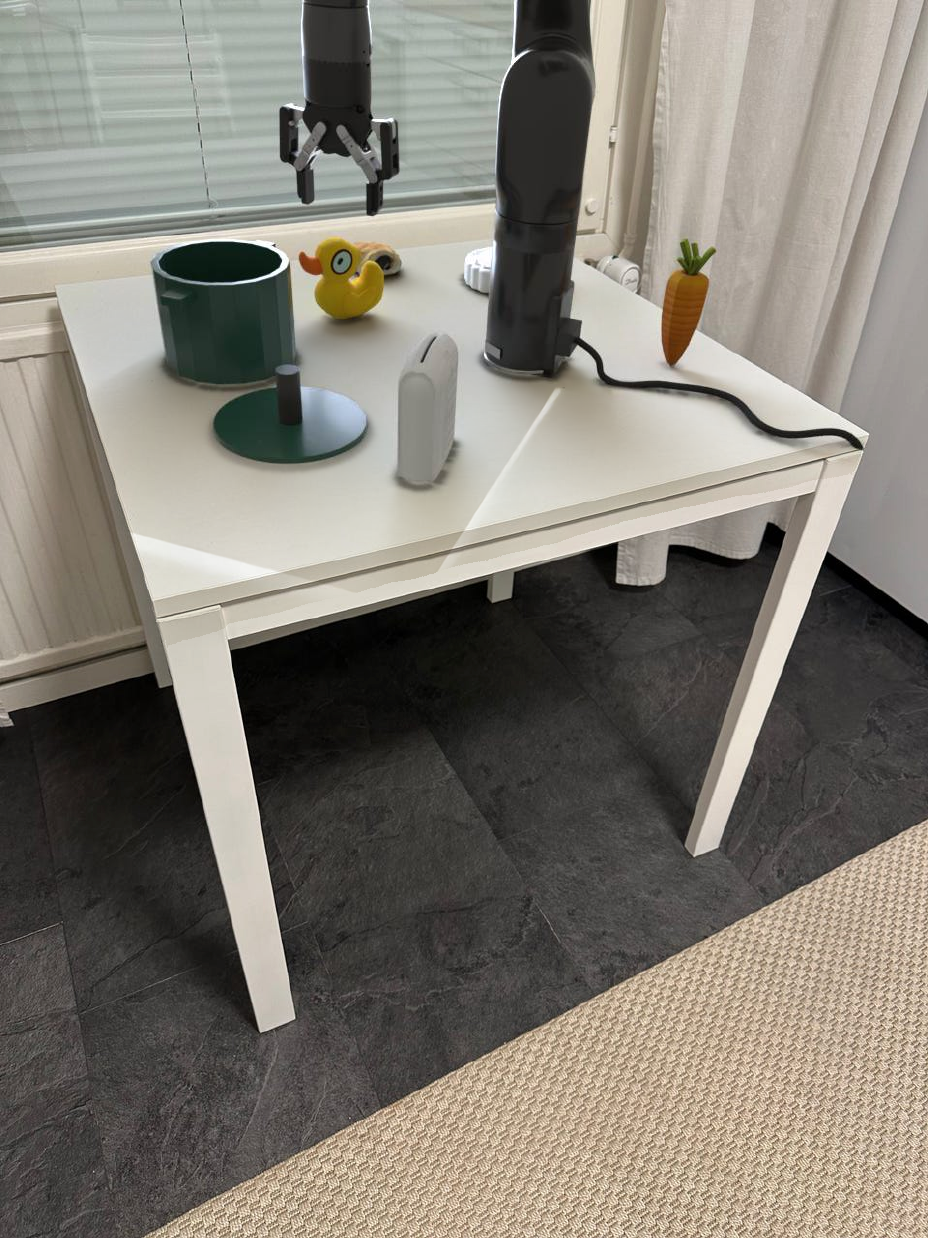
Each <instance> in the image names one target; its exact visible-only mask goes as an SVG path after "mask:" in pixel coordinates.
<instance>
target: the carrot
mask: <svg viewBox="0 0 928 1238" xmlns="http://www.w3.org/2000/svg"><path fill="white" fill-rule="evenodd" d="M679 246H680V250H681V252H682V256H683V257H677V258H676V261H677V262H678V264H679V265H680V266H681V267H682V269H676V270H674V271H672V272H671V274H670V276H669V277H668V279H667V282H666V285H665V290H664V291H665V292H664V297H663V306H662V311H661V328H660V329H661V333H660V334H661V344H662V345H661V346H662V351H663V355H664V358H665V362H666V364H668V366H669V367H674V366H675V365H676V364H677V363H678V362H679V361H680V359H681V358H682V357H683V356H684V354H685V352H686V351H687V349H688V348H689V346H690V344H691V341H692V339H693V338H694V337H693V336H694V335H695V332H696V330H697V328H698V325H699V322H700V320H701V317H702V315H703V314H702V313H703V309H704V306H705V302H706V299H707V294H708V291H709V287H710V278H709V277H708V276H707V275H706V274H704V273H703V272H701V270H702V268H703V267H704V266H705V265H706V264H707V262H708V261H709V260H710V259H711V257H712V256H713V255H714V254H715V253H717V249H716V248H715V247H714V246H711V247H709V248H708V249H707V250H706V251H705V252H704V254H703V255H702V256H701V255H700V250H699V244H698V242H692V243H691V244H690V242H689V238H682V239H681V240H680V241H679Z"/></svg>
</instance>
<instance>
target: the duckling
mask: <svg viewBox="0 0 928 1238" xmlns="http://www.w3.org/2000/svg"><path fill="white" fill-rule="evenodd" d="M360 260H361V250H360V249H359V248H358V247H357V246H355V245H354V244H353V243H351V242H349V241H348V240H346V239H344V238H342V237H340V236H330V237H327V238H325V239H324V240H322V241H321V242H319V244H318V245H317V247H316V248H315V252H314V257H313V256H308V255H307V254H306V252H304V251H300V252H299V254H298V262H299V265H300V267H301V269H302V270H303V271H304V272H305V273H306V274H309V275H312V276H320V275H321V276H322V277H321V278H320V279H319V280H318V281H317V282H316V285H315V287H314V291H313V293H314V300H315V302H316V305H318V307H319V308H320V309H321V310H322V311H324V312H325V313H326V314H327V315H328V316H330V317H331V318H334V319H336V320H347V319H351V318H356V317H359V316H363V315H364V314H366V313H367V312H369V311H371V310H372V309H374V308H375V307H377V305H378V304H379V302H380V301H381V300H382V297H383V295H384V288H385V287H384V286H385V275H383V272H382V270H381V268H380V266H379V265H378V264H377V263H376V262H373V261H367V262H366V263H365V264H364V266H363V268H362V271H361V274H360V275H359V276H357V277H355V278H354V279H352V280H350V279H351V278H352V277H353V276H354V275H355V273H357V271H356V270H357V268H358V264H359V262H360Z"/></svg>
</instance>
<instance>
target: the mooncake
mask: <svg viewBox="0 0 928 1238" xmlns="http://www.w3.org/2000/svg"><path fill="white" fill-rule="evenodd" d="M491 259H492V246H488V247H482V248H479V249H474V250H473V251H471V252H469V253H467V254H466V257H465V259H464V269H463V270H464V272H463V273H464V274H463V279H464V280H465V284H466V285H467V286H470V288H471V289H473V290H474V291H475V290H476V291H478V292H480V293H482V294H489V287H490V273H491Z"/></svg>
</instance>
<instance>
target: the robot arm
mask: <svg viewBox="0 0 928 1238" xmlns="http://www.w3.org/2000/svg"><path fill="white" fill-rule="evenodd" d="M301 3H302V4H301V5H302V8H301V23H300V24H301V25H300V35H301V57H302V78H303V79H302V81H303V96H304V100H305V104H304V107H299V106H298V105H297V103H295V102H291V103H288V104H285V105H282V106H281V107H280V108H279V112H278V114H279V117H278V118H279V119H278V120H279V121H278V122H279V123H278V124H279V159H280V161H281V162H282V163H287V164H289V165H291V166H292V167H293V168H294V169H295V176H296V178H295V179H296V194H297V197H298V199H300V201H301V204H302V205H307V206H308V205H310V204H312V203H314V201H315V171H314V168H312V167H311V166H312V165H313V164H314V162H315V161H316V160H317V157H318V156H319V155H320V154H321V153H323V154H324V155H333V154H335V155H338V156H339V157H340V156H341V157H343V158H349V157H352V159H353V161H354V162H355V164H356V165H357V166H358V167H360V169H361V170H362V172H363V173H364V175H365V177H366V179H367V180H368V181H367V182H366V183H365V200H366V201H365V203H366V204H365V210H366V211H365V212H366V216H369V217H375V216H376V215H378V214H379V211H381V210H382V209H383V206H384V182H385V181H389V180H391V179H392V178H394V177H396V176H398V175H399V174H400V170H401V169H400V142H399V139H400V138H399V122H398V119H396V118H394V117H391V118H388V119H376V118H374V115H373V113H372V110H371V107H372V54H373V43H372V24H371V16H370V6H369V4H370V0H302V2H301ZM590 15H591V14H590V0H514V21H513V42H512V43H513V44H512V54H511V55H512V56H511V64H510V65H509V68H508V69H507V71H506V73H505V75H504V77H503V80H502V83H501V87H500V93H499V99H498V100H499V101H498V113H497V129H496V146H495V164H494V165H495V167H494V187H495V205H494V219H493V230H492V231H493V233H492V246H491V247H492V259H491V273H490V287H489V293H488V301H487V302H488V304H487V317H486V318H487V319H486V330H485V331H486V333H485V341H484V343H485V344H484V350H483V361H484V362H485V364H486V365H487V366H488V367H491V368H495V369H498V370H501V371H503V372H507V373H511V374H516V375H517V374H519V375H531V376H537V377H548V378H553V377H555V374H556V373H557V371H558V370H559V369H560V368H561V366H562V364H563V362H564V361H565V359H566V358H570V357H571V356H572V354H573V353H574V351H575V349H576V348H577V347H580V348H581V349H582V350H584V351H585V352H587V353H588V354H589V356H590V357H592V358H593V360H594V362H595V365H596V372H597V376H598V378H599V379H600V380H601V381H602V382H604V383H605V384H607V385H609V386H613V387H618V388H619V387H620V388H629V389H651V388H652V389H653V388H654V389H655V388H656V389H657V388H658V389H667V390H674V391H684V392H691V393H692V392H693V393H698V394H699V393H700V394H703V395H704V394H705V395H708V396H709V395H710V396H714V397H716V398H720V399H722V400H725V401H727V402H730V403H731V404H733V405H734V406H736V407H737V409H739V410H740V411H741V412H742V413H743V415H744V416H745V418H747V420H748V421H749V422H750V423H751V424H752V425H753V426H754V427H756V428H757V429H759V430H760V431H761V432H764V433H765V434H768V435H770V436H773V437H777V438H780V439H791V440H797V439H809V438H818V437H838V438H841V439H843V440H845V441H847V442H848V443H850V445H851V446H852V447H853V448H855V449H858V450H864V445H863V444H862V442H861V440H860V439H859V438H858V437H856V436H855V435H854V434H853V433H852V432H849V431H848V430H845V429H841V428H834V427H823V428H814V429H813V428H812V429H805V430H803V429H802V430H785V429H781V428H780V429H779V428H777V427H774V426H771V425H769V424H767V423H766V422H764V421H762V419H760V418H759V417H758V416H757V415H756V414H755V412H753V411H752V409H751V408H750V406H748V405H747V404H746V402H744V401H743V400H742V399H741V398H740V397H738V396H736V395H734V394H731V393H729V392H727V391H724V390H722V389H718V388H715V387H710V386H705V385H699V384H692V383H685V382H675V381H668V380H657V379H655V380H638V381H622V380H618V379H615V378H612V377H611V376H610V375H608V374H607V373H606V372H605V367H604V361H603V358H602V356H601V355H600V353H599V352H598V351H597V350H596V349H595V348H594V347H593V346H592V345H591V344H589V343H588V342H586V341H585V340H584V339H583V338H581V331H582V326H583V320H581V319H577V318H572V317H571V316H572V315H571V314H572V308H573V307H572V306H573V300H574V291H575V281H574V280H572V274H573V273H572V272H573V266H574V265H573V264H574V257H575V249H576V243H577V242H576V241H577V232H578V226H579V225H578V224H579V218H580V211H581V203H582V197H583V185H584V184H583V183H584V175H585V174H584V173H585V165H586V158H587V150H588V143H589V135H590V134H589V133H590V126H591V118H592V111H593V105H594V102H595V98H596V88H597V84H596V73H595V65H594V55H593V45H592V32H591V31H592V30H591V16H590ZM302 122H303V123H304V126H305V127H306V130H308V133H309V134H310V135H309V136H308V138H307V139H306V141H305V143H304V144H303V145H302V147H301V149H300V150H301V151H300V152H299V127H301V125H302V124H303V123H302ZM373 132H374V133H375V137H376V139H377V141H379V142H380V157H381V158H380V159H381V162H380V160H379V158H378V157H377V156H378V154H377V151H376V149H375V148H374V146H373V144H372V143H371V140H370V139H369V137H370V136H371V134H372V133H373Z"/></svg>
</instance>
